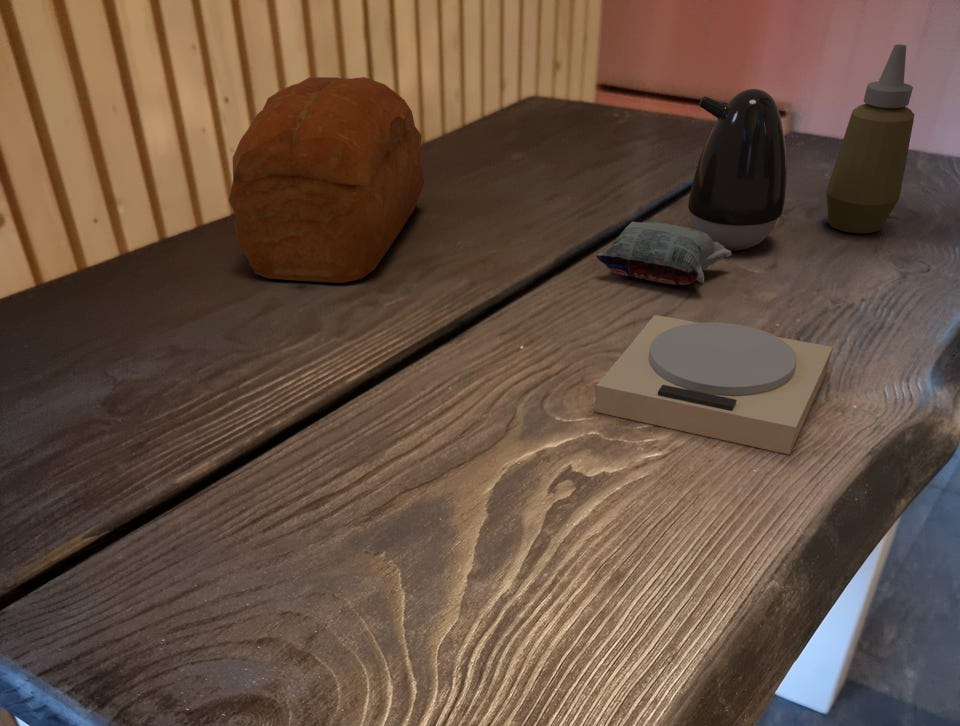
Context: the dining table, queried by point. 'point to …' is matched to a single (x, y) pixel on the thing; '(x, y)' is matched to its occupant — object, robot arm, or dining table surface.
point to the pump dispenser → (740, 171)
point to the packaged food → (662, 253)
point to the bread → (325, 179)
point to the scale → (716, 382)
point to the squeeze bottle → (873, 153)
